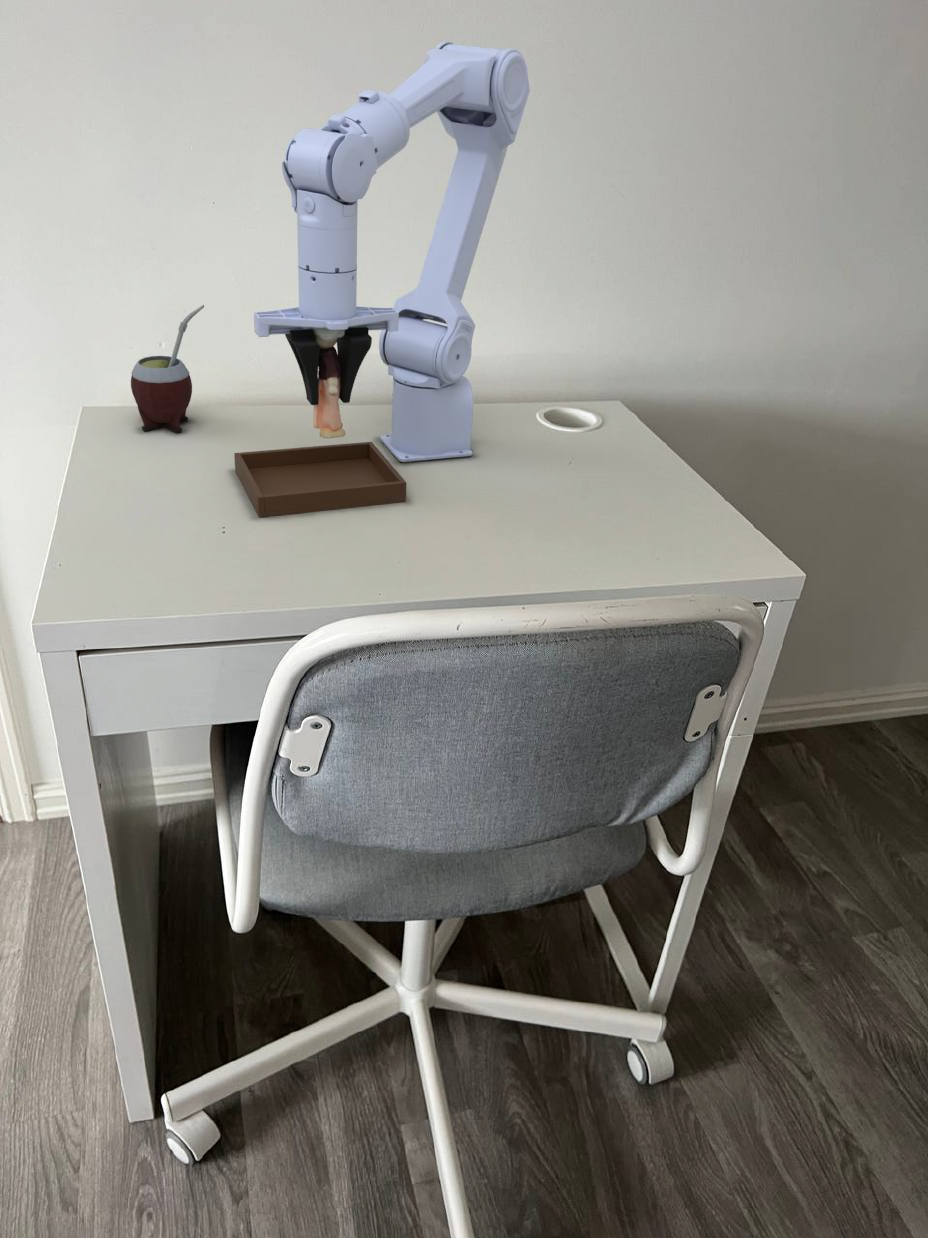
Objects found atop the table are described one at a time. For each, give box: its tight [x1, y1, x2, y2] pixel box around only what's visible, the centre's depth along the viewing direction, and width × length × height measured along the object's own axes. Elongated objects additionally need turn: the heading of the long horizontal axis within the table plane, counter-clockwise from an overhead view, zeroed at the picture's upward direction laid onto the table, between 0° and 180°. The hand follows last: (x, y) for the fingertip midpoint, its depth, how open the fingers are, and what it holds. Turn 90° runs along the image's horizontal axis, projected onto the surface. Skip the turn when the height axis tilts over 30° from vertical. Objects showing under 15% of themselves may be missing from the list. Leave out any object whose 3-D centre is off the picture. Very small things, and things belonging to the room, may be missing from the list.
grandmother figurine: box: [312, 328, 346, 440], centre depth 101 cm, size 8×4×13 cm, turn 21°
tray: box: [233, 441, 407, 518], centre depth 108 cm, size 16×12×2 cm
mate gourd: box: [130, 304, 205, 434], centre depth 117 cm, size 8×8×15 cm
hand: (327, 400), depth 102 cm, fingers closed on grandmother figurine, 3 cm apart
